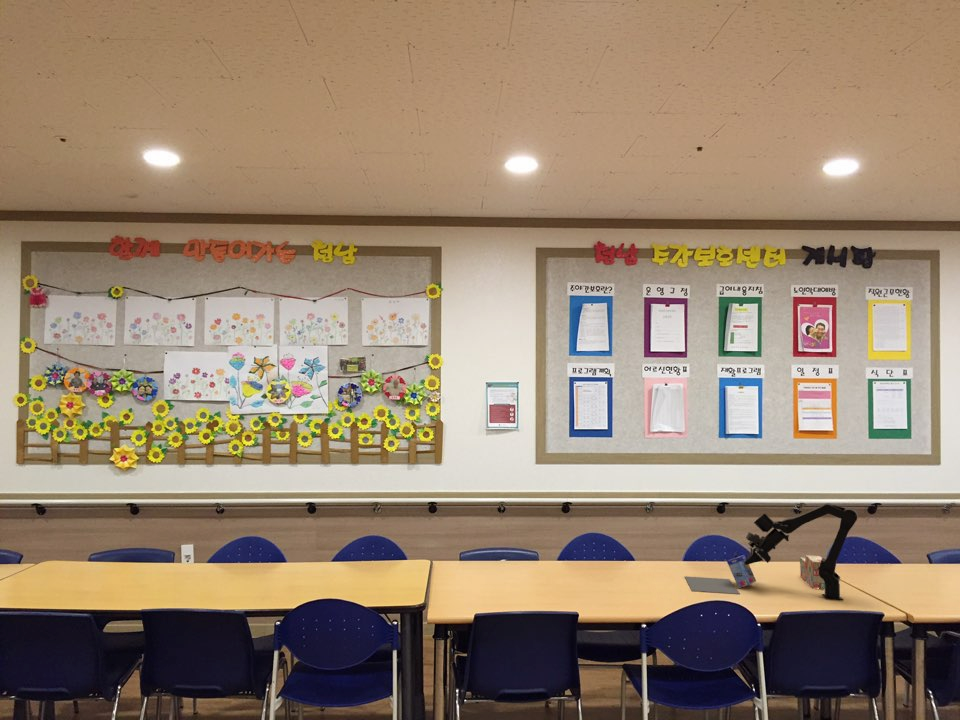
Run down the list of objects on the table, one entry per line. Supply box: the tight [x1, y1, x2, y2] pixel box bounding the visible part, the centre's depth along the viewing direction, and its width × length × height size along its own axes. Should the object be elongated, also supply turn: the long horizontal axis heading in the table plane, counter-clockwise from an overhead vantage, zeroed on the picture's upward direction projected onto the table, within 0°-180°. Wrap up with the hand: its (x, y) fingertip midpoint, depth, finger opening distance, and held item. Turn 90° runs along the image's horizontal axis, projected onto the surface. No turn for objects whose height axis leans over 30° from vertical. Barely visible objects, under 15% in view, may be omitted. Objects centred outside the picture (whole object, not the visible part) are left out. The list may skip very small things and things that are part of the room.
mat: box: [684, 575, 741, 595], centre depth 300 cm, size 24×20×1 cm
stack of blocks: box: [799, 554, 825, 590], centre depth 307 cm, size 21×6×12 cm, turn 169°
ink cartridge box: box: [726, 550, 757, 589], centre depth 300 cm, size 10×6×14 cm, turn 138°
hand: (745, 564), depth 298 cm, fingers closed
